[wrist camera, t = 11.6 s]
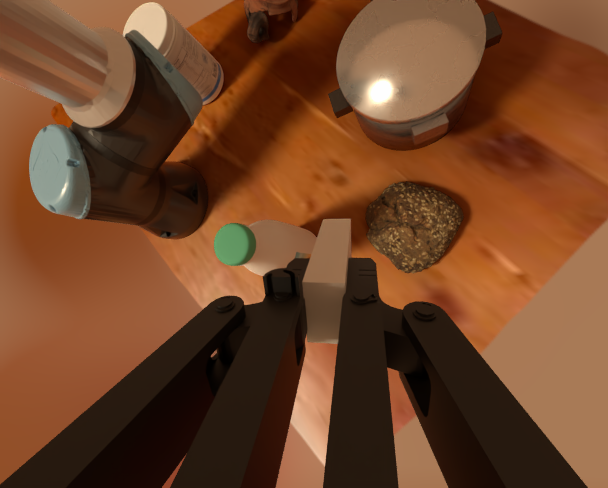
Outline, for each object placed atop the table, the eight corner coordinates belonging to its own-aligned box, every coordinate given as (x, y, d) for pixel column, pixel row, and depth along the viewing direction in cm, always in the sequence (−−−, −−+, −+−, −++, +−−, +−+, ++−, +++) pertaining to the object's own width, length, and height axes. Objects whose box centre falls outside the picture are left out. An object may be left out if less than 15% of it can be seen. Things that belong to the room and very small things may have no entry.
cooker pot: (331, 85, 50) (313, 49, 42) (463, 17, 43) (474, -42, 35) (361, 179, 47) (348, 161, 39) (508, 122, 41) (531, 86, 32)
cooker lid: (317, 14, 42) (314, 7, 41) (444, -62, 36) (445, -73, 35) (359, 146, 39) (357, 142, 37) (507, 83, 33) (510, 77, 32)
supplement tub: (179, 88, 62) (111, 39, 48) (208, 51, 60) (146, -12, 46) (203, 117, 59) (139, 73, 46) (235, 79, 57) (177, 20, 44)
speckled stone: (475, 215, 42) (482, 209, 37) (417, 284, 44) (417, 286, 39) (399, 167, 46) (397, 156, 41) (349, 231, 48) (342, 228, 43)
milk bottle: (276, 232, 52) (197, 215, 33) (318, 224, 49) (257, 200, 31) (282, 277, 51) (203, 284, 33) (324, 271, 49) (266, 275, 30)
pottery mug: (254, 1, 58) (253, -47, 50) (300, 20, 58) (307, -25, 50) (232, 50, 55) (228, 7, 47) (282, 69, 56) (286, 30, 48)
